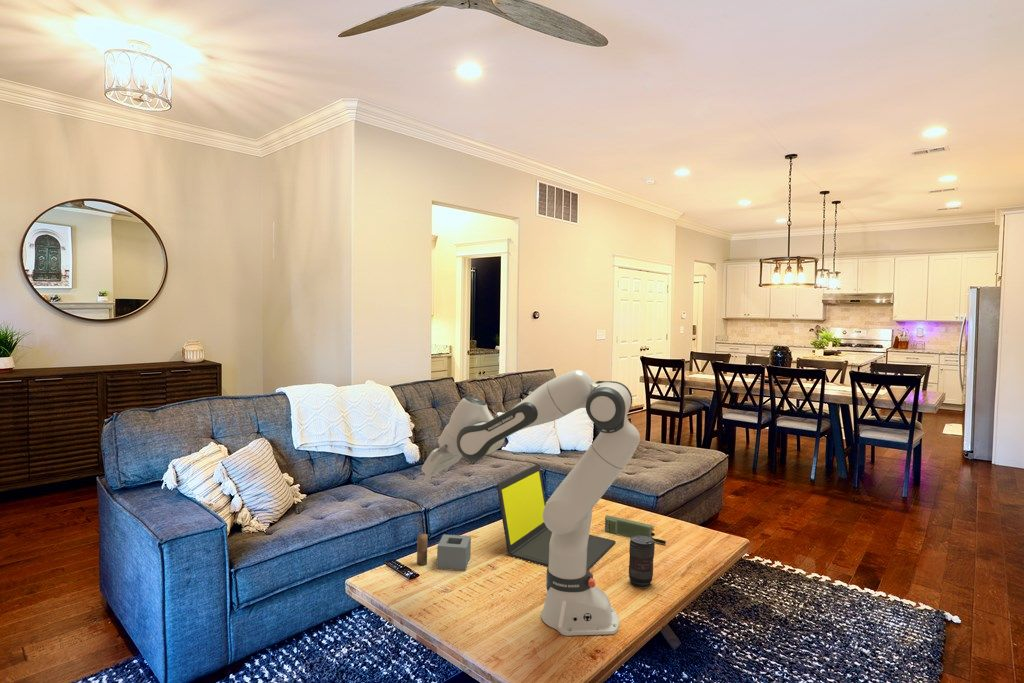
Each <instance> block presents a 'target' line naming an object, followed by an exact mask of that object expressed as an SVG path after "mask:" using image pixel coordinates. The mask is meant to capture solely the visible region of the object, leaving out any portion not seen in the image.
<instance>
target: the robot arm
mask: <svg viewBox="0 0 1024 683" xmlns="http://www.w3.org/2000/svg"><path fill="white" fill-rule="evenodd" d="M632 406H633V396H632V393H631V390H630V389H629V388H628V386H626V385H625V384H624V383H621V382H618V381H612V380H598V381H596V382H594V380H593V379H592V378H591V376H590V375H589V374H588V373H587V372H586V371H584V370H582V369H573V370H570V371H568V372H564V373H563V374H560V375H558V376H556V377H553V378H552V379H550V380H548V381H546V382H544V383H543V384H541V385H540V386H538V387H537V388H536V389H534V390H533V391H531V393H530V394H528V395H527V396H526V397H525V398H524V399H522V400H521V401H520V402H518V404H516V405H515V406H513V407H512V408H510V409H509V410H507V411H505V412H503V413H502V414H500V415H498V416H496V417H494V416H493V415H492V414H491V412H490V411H489V407H488V404H487V403H486V401H484V400H483V399H481V398H479V397H476V396H465V397H463V398H462V399H461V400H460V401H459V402H458V404H457V405H456V407H455V409H454V410H453V411H452V413H451V416H450V418H449V421H448V423H447V425H446V426H444V428H443V430H442V432H441V434H440V436H439V438H438V441H437V443H438V445H439V447H436V448H435V449H433V450H431V451H430V453H429V455H428V456H427V458H426V459H425V461H424V463H423V464H422V466H421V472H423V473H424V478H423V483H425V484H426V485H427V484H429V483H431V481H432V477H433V476H434V475H435V474H437V475H439V477H443V476H444V475H445V474H446V472H447V471H448V470H449V469H450V468H451V466H453V465H455V464H457V463H459V461H460V460H461V459H462V457H463V458H464V459H466V460H468V461H473V462H476V461H478V460H481V459H482V458H484V457H485V456H487V455H489V454H492V453H493V452H495V451H496V450H499V449H500V448H502V447H503V445H504V443H505V441H506V438H507V437H509V436H511V435H513V434H515V433H517V432H519V431H521V430H524V429H527V428H530V427H531V428H532V427H536V426H541V425H545V424H546V423H551V422H553V421H557V420H560V419H562V418H563V417H565V416H567V415H569V414H571V413H573V412H575V411H576V410H579V409H585V412H586V414H587V417H588V418H589V419H590V421H591V422H592V424H594V425H595V427H596V428H597V429H598V431H599V433H598V435H597V436H596V437H595V439H594V440H593V441H592V443H591V444H590V445H589V447H588V448H587V450H586V451H585V452H584V454H582V456H581V458H580V459H579V460H578V462H577V463H576V464H575V465H574V467H573V468H572V469H571V470H570V471H569V473H568V474H567V475H566V476H565V477H564V478H563V480H562V481H561V482H560V484H559V485H558V486H557V488H556V489H555V490H554V492H553V493H552V494H551V495H550V496H549V498H548V499H547V501H546V505H545V507H544V511H543V520H544V523H545V525H546V527H547V528H548V529H549V530H550V531H552V535H551V539H550V543H549V566H548V567H546V573H545V588H546V594H545V599H544V605H543V608H542V610H541V613H540V614H541V615H540V617H541V619H542V621H543V622H544V623H545V624H546V625H547V626H549V627H550V628H552V629H555V630H557V631H558V633H559V634H561V635H562V636H571V637H572V636H594V635H595V636H597V635H598V636H601V635H615V634H616V633H617V632H618V631H619V628H620V620H619V615H618V613H617V611H616V610H615V608H613V607H612V604H611V601H610V599H609V596H608V595H607V594H606V592H604V590H602V589H600V588H599V587H598V586H597V585H596V580H595V579H594V574H593V572H592V571H591V569H590V570H589V571H588V570H586V566H587V546H588V538H589V535H590V532H591V531H590V530H591V526H592V519H593V518H592V516H593V509H594V507H595V506H596V505H597V504H598V502H599V501H600V500H601V498H602V497H603V496H604V494H606V492H607V491H608V489H609V488H610V487H611V486H612V485H613V483H614V481H616V479H617V478H618V477H619V475H620V474H621V473H622V472H623V470H624V469H625V468H626V466H627V465H628V463H629V462H630V460H631V459H632V457H633V456H634V454H635V452H636V450H637V449H638V446H639V444H640V442H641V433H640V432H639V431H638V429H637V427H636V426H635V425H633V424H632V423H631V422H630V421H629V419H628V414H629V412H630V410H631V409H632Z"/></svg>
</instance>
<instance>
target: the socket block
mask: <svg viewBox="0 0 1024 683" xmlns="http://www.w3.org/2000/svg"><path fill="white" fill-rule="evenodd" d="M471 540H472V536H471V535H459V534H458V535H457V534H442V536H441V538H440V540H439V542H438V544H437V545H436V546H437V547H436V549H437V550H436V569H437V570H449V569H453V570H452V571H463V570H465V571H466V570H467V569H468V566H467V565H469V563H468V562H470V560H471V548H472V547H471V545H472V541H471ZM465 571H464V572H465Z"/></svg>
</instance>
